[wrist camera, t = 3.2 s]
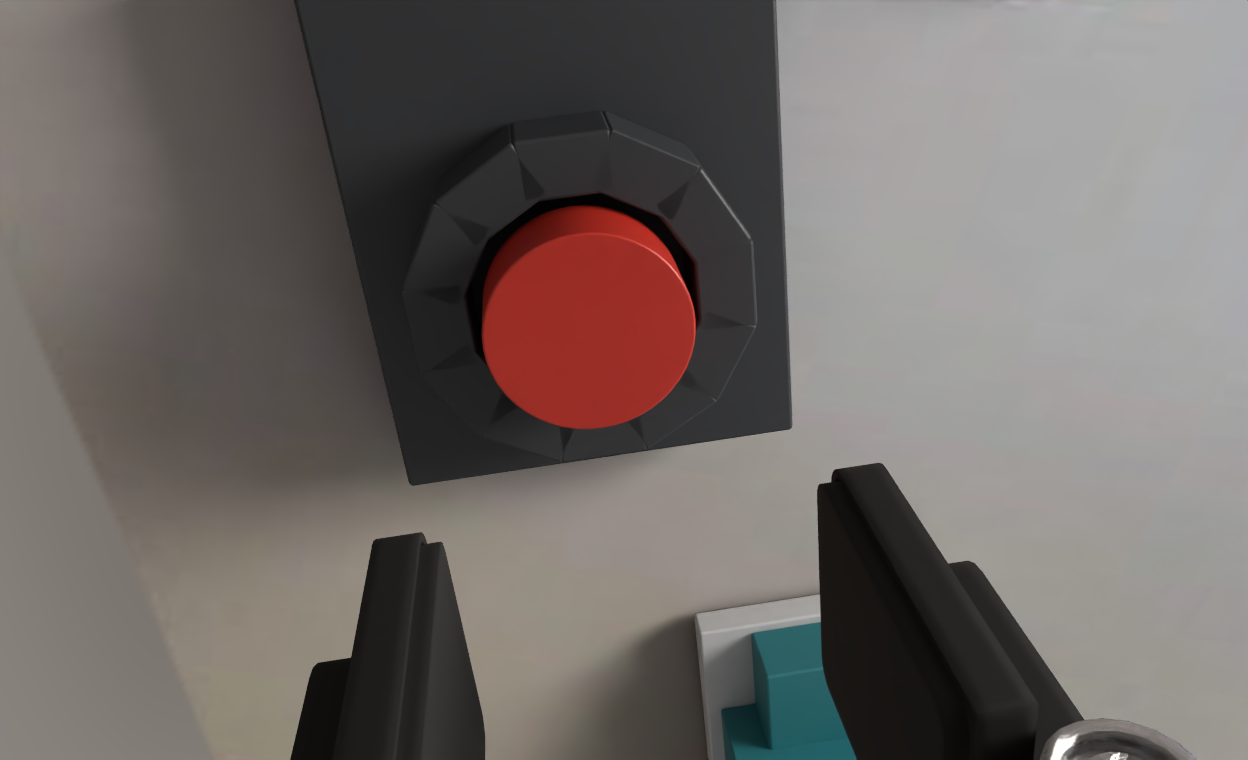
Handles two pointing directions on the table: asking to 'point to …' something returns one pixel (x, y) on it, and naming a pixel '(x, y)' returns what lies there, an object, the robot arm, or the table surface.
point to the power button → (586, 318)
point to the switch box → (556, 198)
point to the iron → (767, 684)
